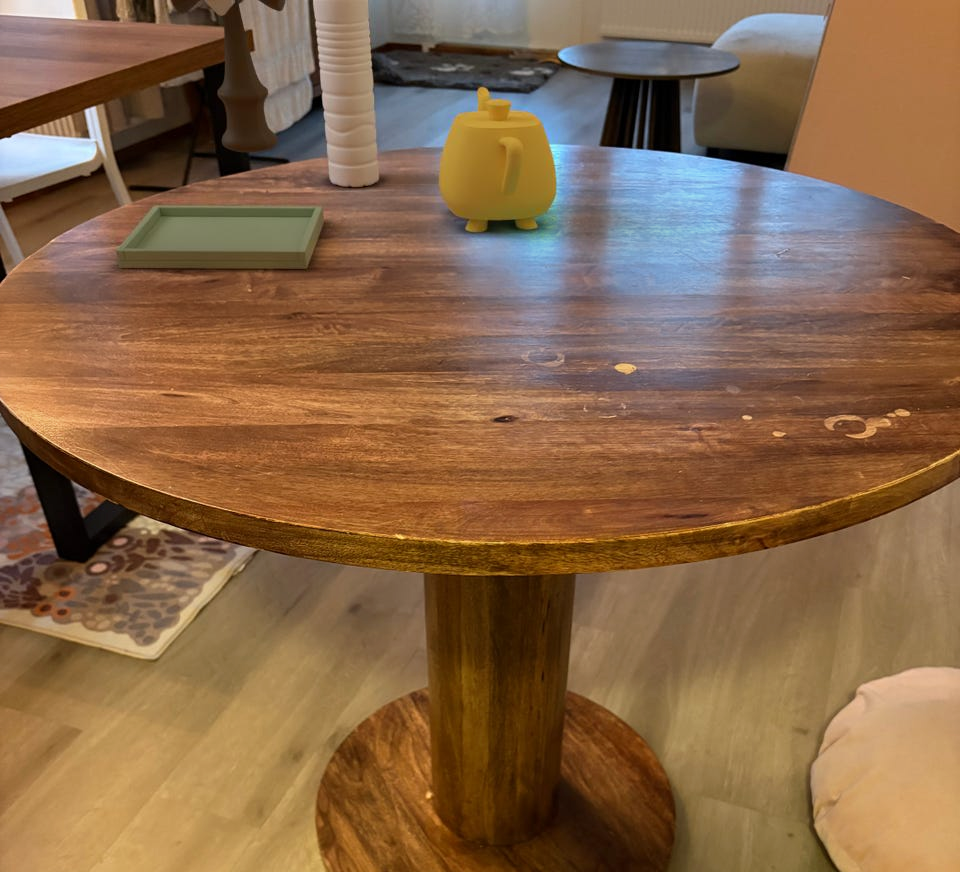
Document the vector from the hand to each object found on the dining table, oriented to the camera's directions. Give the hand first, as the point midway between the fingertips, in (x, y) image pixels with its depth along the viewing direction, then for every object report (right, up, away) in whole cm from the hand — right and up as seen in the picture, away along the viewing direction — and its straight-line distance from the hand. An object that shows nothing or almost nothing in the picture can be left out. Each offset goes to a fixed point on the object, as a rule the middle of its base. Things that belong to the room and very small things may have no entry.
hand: (238, 2), depth 79 cm
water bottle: (+5, +5, +41) cm, 42 cm away
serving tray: (-7, -11, +23) cm, 26 cm away
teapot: (+23, -5, +31) cm, 38 cm away
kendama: (-1, -9, +8) cm, 12 cm away
